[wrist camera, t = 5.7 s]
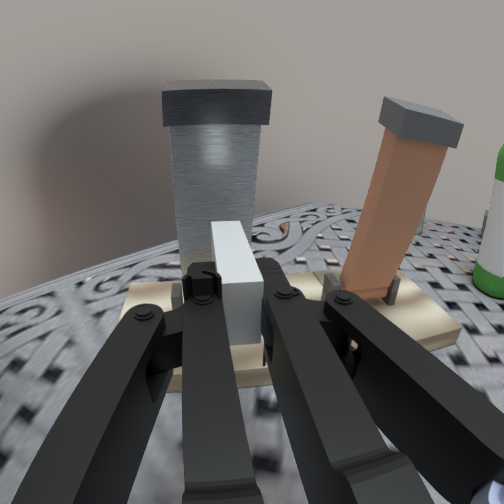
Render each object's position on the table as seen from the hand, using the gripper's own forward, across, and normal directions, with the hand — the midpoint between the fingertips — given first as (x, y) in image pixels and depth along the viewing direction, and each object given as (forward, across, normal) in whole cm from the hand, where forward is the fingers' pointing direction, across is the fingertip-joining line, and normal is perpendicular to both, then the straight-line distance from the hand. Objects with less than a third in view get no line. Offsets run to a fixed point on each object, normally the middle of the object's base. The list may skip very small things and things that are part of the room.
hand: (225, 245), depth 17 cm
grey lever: (+8, 0, -8) cm, 11 cm away
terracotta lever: (+8, +14, -8) cm, 18 cm away
